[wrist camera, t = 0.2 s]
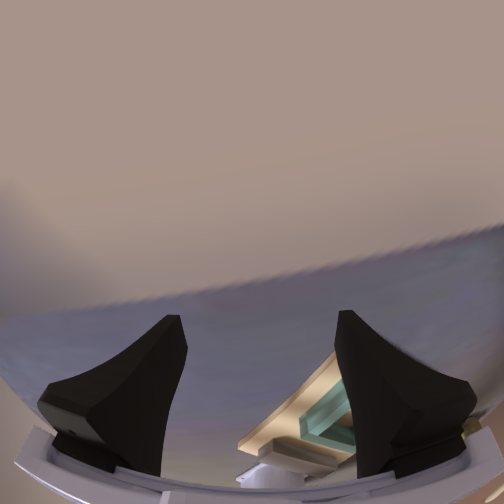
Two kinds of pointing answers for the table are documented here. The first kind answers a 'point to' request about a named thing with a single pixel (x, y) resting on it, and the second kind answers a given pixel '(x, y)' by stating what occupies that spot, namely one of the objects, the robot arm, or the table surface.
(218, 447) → the table surface
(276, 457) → the jig
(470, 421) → the lime
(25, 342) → the table surface
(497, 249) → the table surface
